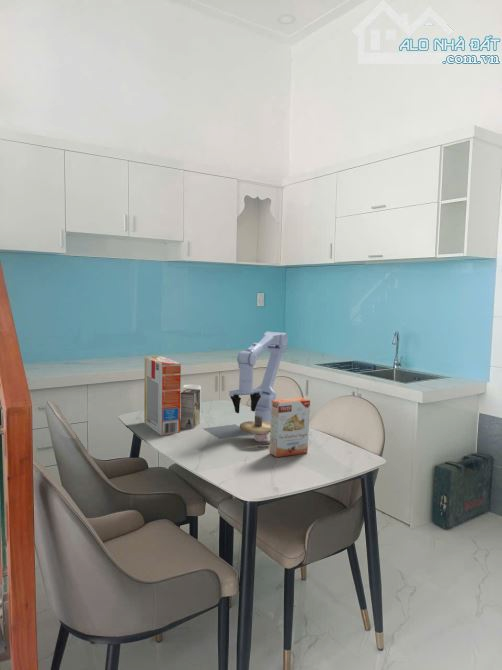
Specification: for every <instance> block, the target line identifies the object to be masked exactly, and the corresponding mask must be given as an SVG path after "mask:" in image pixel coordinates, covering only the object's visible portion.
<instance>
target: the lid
mask: <svg viewBox="0 0 502 670" xmlns="http://www.w3.org/2000/svg"><path fill="white" fill-rule="evenodd" d="M239 427H240V429H241V430H243V431H246V432H251V433H253V434H254V433H268V432H269V433H270V429H271V423H270V422H265V421H262V416H261V415H256V416H255V415H254V420H249V421H243V422H242V423H240V424H239ZM269 433H268V434H269Z"/></svg>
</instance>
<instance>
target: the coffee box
mask: <svg viewBox="0 0 502 670" xmlns="http://www.w3.org/2000/svg"><path fill="white" fill-rule="evenodd" d="M200 421H201V412H200V390H195V389H187V390H185V391H183V390H182V392H180V429H182V428H183V429H192V430H193V429H195V428H196V427H197V426H199V425H200V424H201V422H200Z"/></svg>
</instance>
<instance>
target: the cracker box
mask: <svg viewBox="0 0 502 670" xmlns="http://www.w3.org/2000/svg"><path fill="white" fill-rule="evenodd" d="M310 407H311V400H310V399H308V398H305V397H291V398H278V399H277V398H276V400H272V406H271V429H270V432H269V436H270V437H269V443H270V446H269V454H270V455H272V456H274V457H275V458H281V457H288V456H294V455H295V456H296V455H303V454H308V450H309V449H308V447H309V431H310V429H309V428H310V427H309V426H310V412H311V411H310V410H311V408H310Z"/></svg>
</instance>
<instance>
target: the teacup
mask: <svg viewBox="0 0 502 670" xmlns="http://www.w3.org/2000/svg"><path fill="white" fill-rule="evenodd" d="M269 434H270V432H268V433H253V435H254V436H253V437H254V438H253V440H254V441H256V442H257V443H264V444H259V445H257V444H256V447H262V448H263V447H264V448H265V447H270V442H269V443H265V442H266V441H267V440H268V435H269Z"/></svg>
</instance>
